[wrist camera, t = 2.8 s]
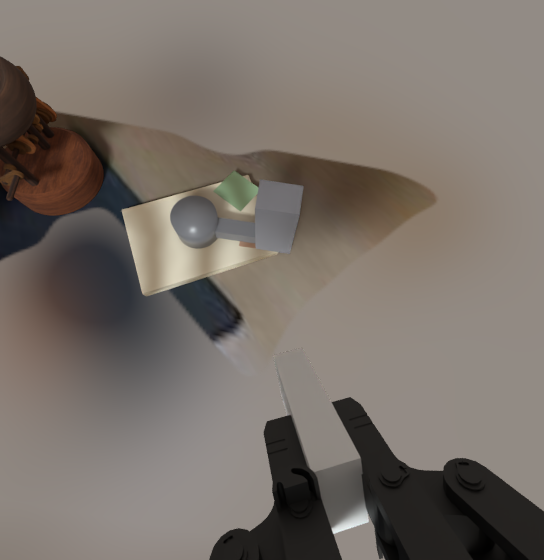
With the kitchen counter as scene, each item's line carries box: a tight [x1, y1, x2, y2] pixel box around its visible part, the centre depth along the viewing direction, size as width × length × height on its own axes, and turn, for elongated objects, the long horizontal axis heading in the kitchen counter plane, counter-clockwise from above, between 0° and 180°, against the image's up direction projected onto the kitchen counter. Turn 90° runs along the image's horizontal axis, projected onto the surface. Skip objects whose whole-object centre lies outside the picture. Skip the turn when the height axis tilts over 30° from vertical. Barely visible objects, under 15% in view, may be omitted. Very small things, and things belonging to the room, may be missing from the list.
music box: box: [0, 57, 104, 215], centre depth 30 cm, size 15×11×20 cm
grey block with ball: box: [170, 180, 303, 254], centre depth 32 cm, size 14×5×9 cm, turn 82°
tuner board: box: [122, 171, 278, 296], centre depth 37 cm, size 17×12×1 cm
